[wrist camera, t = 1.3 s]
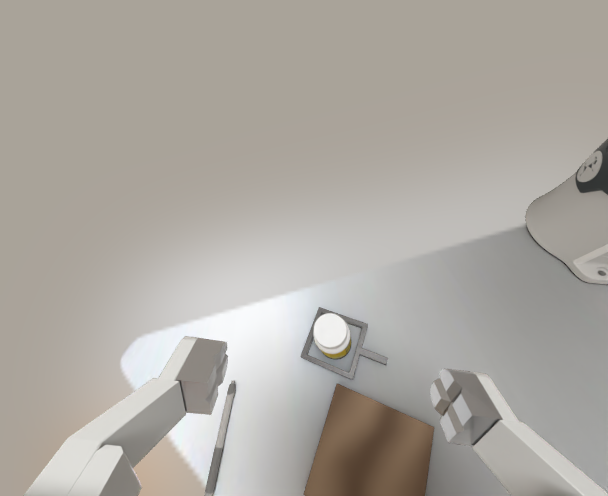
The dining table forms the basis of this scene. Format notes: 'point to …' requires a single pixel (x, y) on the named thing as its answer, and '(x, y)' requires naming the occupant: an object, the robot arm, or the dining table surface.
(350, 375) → the grey frame with handle
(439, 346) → the dining table surface
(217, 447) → the pen
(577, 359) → the dining table surface
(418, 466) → the pad
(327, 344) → the supplement bottle
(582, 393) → the dining table surface
